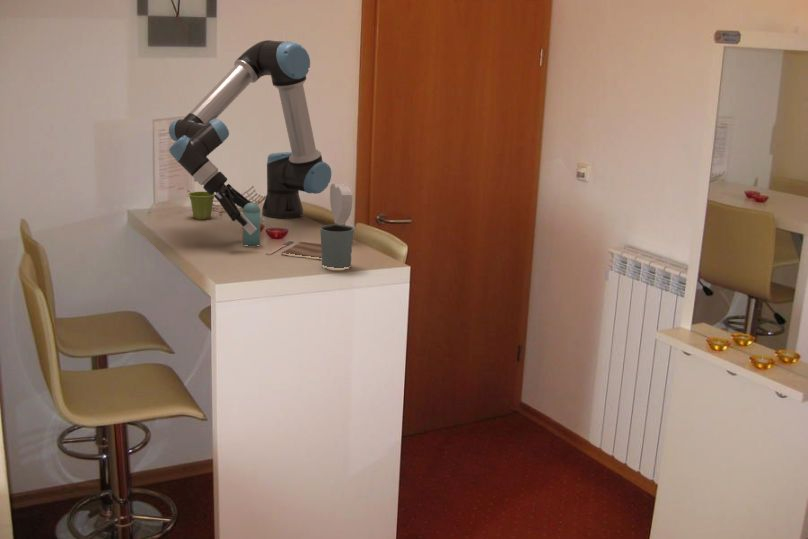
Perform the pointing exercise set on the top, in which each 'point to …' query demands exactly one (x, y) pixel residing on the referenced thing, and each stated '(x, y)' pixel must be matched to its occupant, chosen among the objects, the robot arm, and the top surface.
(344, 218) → the heart sculpture
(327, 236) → the grey textured cup
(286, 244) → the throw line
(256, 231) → the teal domed cylinder
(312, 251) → the board
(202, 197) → the plant pot
